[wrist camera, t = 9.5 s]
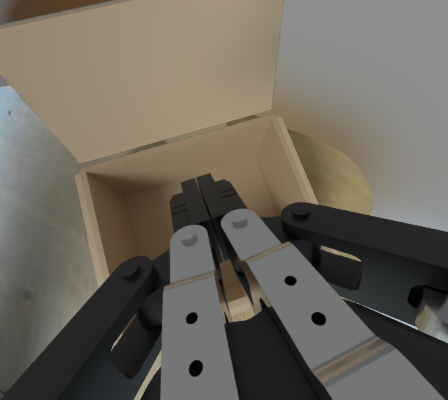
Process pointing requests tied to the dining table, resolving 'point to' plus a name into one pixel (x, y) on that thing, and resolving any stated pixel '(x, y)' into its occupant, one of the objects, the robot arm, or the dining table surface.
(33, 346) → the dining table surface
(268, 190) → the tan open box
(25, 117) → the dining table surface
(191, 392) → the robot arm
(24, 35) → the wooden box lid
